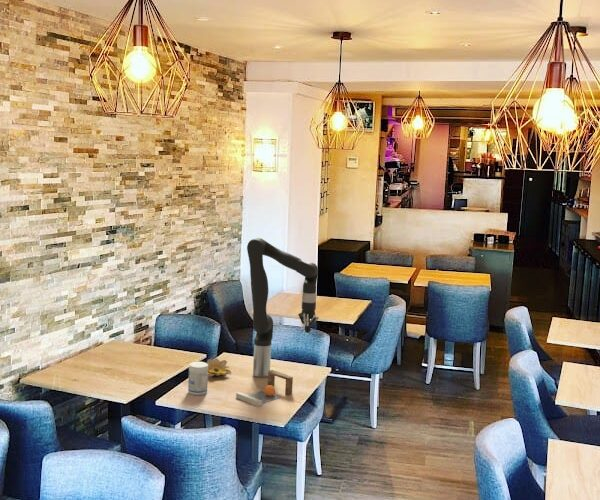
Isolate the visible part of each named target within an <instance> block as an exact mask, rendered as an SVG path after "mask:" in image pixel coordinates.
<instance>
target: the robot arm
mask: <svg viewBox="0 0 600 500" xmlns="http://www.w3.org/2000/svg"><path fill="white" fill-rule="evenodd" d="M246 248H247V249H246V250H247V256H248V261H249V270H250V271H249V274H250V289H251V291H250V292H251V299H252V311H253V312H252V326H253V330H255V332H256V334H255V337H254V340H253V341H254V343H253V369H252V377H256V378H257V377H258V378H268V371H270V370H271V356H272V340H273V334H274V320H273V318H272V317H271V315H269V314H267V303H268V298H269V280H268V276H267V272H266V269H265V267H264V260H263V256H265V257H268V258H271V259H273V260H274V261H276V262H278V264H280V265H282V266H284V267H285V268H288V269H290V270H293V271H295V272H296V273H299V274H300V275H301V276H303V277H304V281H303V284H302V294H301V309H302V310H301V312H300V313H298V314H297V315H298V318H299V320H300V322H301V323H302V324H303V325H304V332H305V333H306V334H307V333H310V332H311V327H312V326H314V325H315V324H316V323H317V321H318V320H319V317H318V316H317V315H316V312H315V311H316V309H317V281H318V275H319V268H318V266H317V264H316V263H314V262H309V263H307V262H306V261H303V259H301V258H300V257H297V256H295V255H293V254H291V253H288V252H286V251H284V250H282V249H280V248H277V246H276V247H275V246H274V245H272V244H270V243H269V242H267V241H266V240H265V239H263V238H261V237H255V238H253V239H251V240H249V241H248V243H247V246H246Z"/></svg>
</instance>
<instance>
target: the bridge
mask: <svg viewBox="0 0 600 500" xmlns="http://www.w3.org/2000/svg"><path fill="white" fill-rule="evenodd" d="M275 377H277V378H281V379H283V380H285V390H284V393H285V394H284V395H285V396H288V397H289V396H291V395H293V385H294V384H293V383H294V382H293V381H294V380H293V379H294V377H293V376H292V375H288V374H285V373H283V372H279V371H277V370H273V369H270V371H268V376H267V386H268V385H272V386H273V387H274V388H275Z"/></svg>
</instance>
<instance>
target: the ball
mask: <svg viewBox="0 0 600 500" xmlns="http://www.w3.org/2000/svg"><path fill="white" fill-rule="evenodd" d="M263 391H264V392H265V394H266V395H267V396H272V395H275V393H276V388H275V386H274V387H273V386H272V385H268V384H267V385H266V386H265V387H264V389H263Z"/></svg>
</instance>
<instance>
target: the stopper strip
mask: <svg viewBox="0 0 600 500" xmlns="http://www.w3.org/2000/svg"><path fill="white" fill-rule="evenodd" d="M235 398H236V399H238V400H240V401H244V402H246V403H248V404H252V405H253V406H256V407H261V406H262V407H263V404H262V400H259V399H256V398H254V397H251V396H249V394H245V393H243V392H241V391H238V392H236V393H235Z"/></svg>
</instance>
